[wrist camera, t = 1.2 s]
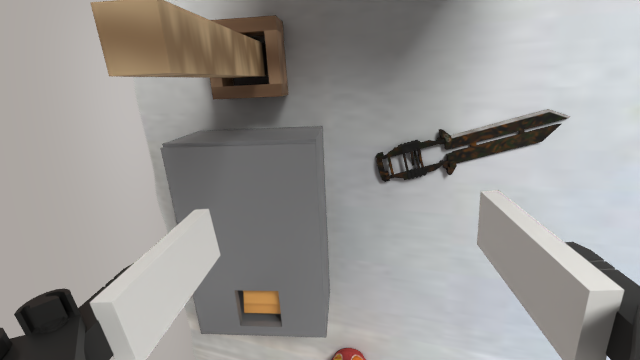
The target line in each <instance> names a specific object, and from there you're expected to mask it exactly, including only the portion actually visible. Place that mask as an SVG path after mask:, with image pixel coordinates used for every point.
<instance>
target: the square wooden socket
mask: <svg viewBox="0 0 640 360" xmlns="http://www.w3.org/2000/svg"><path fill="white" fill-rule="evenodd" d="M210 21H213V22H215V23H217V24H220V25H222V26H224V27H227V28H229V29H231V30H234V31H236V32H238V33H241V34H243V35H245V36H248V37H255V36H265V44H266V54H267V64H268V75H269V84H261V85H241V86H234V82H233V78H210V82H211V89H212V95H213V99H232V98H254V97H275V96H285V95H288V85H287V72H286V59H285V47H284V34H283V22H282V21H281V20H280V19H279V18H278V17H277V16H276V15H275V16H262V17H248V18H234V19H220V20H210Z"/></svg>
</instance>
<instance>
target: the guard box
mask: <svg viewBox="0 0 640 360" xmlns="http://www.w3.org/2000/svg"><path fill="white" fill-rule="evenodd" d="M161 152H162V157H163V161H164V166H165V170H166V175H167V180H168V184H169V189H170V193H171V198H172V202H173V207H174V211H175V216H176V221H177V225H178V224H179V223H180V222H181V221H182V220H184V219H185V218H186V217H187V216H188V215H189V214H190V213H191V212H193V211H194V210H197V209H209V212H210V216H211V219H212V223H213V227H214V231H215V235H216V239H217V243H218V247H219V251H220V257H219V258H218V259H217V261H216V262H215V264H214V265H213V266H212V268H211V269H210V271H209V272H208V274H207V275H206V276H205V278H204V279H203V281H202V282H201V283H200V285H199V286H198V288H197V289H196V290H195V292H194V293H193V298H194V303H195V307H196V312H197V316H198V321H199V325H200V330H201V334H228V335H261V336H294V337H326V335H327V322H328V309H329V297H330V283H329V261H328V239H327V217H326V195H325V173H324V151H323V130H322V126H316V127H289V128H262V129H234V130H207V131H198V132H195V133H192V134H189V135H186V136H184V137H181V138H178V139H175V140H172V141H169V142H167V143H164V144H163V148H161ZM243 291H278V293H279V302H280V311H281V314H273V313H244V296H243Z"/></svg>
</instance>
